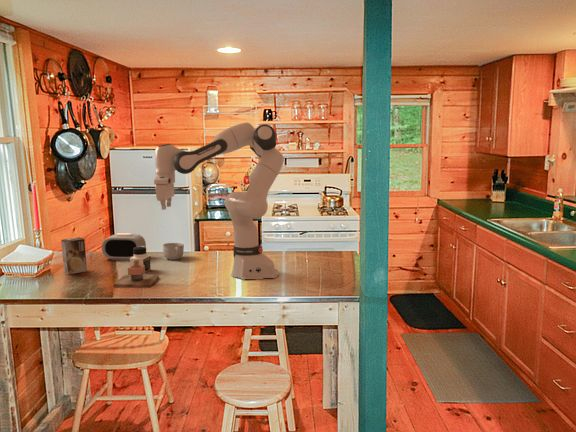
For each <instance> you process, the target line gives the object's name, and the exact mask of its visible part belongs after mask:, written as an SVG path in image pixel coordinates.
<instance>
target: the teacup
mask: <svg viewBox="0 0 576 432" xmlns="http://www.w3.org/2000/svg"><path fill="white" fill-rule="evenodd" d="M184 245H185V244H184V243H179V242H167V243H163V244H162V246H163V247H162V248H163V249H162V251H163V253H162V254H163V256H164V257H165V258H166V260H170V261H172V260H173V261H176V260H180V259H181V258H183V255H184Z"/></svg>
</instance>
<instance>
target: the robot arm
mask: <svg viewBox="0 0 576 432" xmlns="http://www.w3.org/2000/svg"><path fill="white" fill-rule="evenodd" d="M247 146H249V149H251V151H253V153H254V154H255V155H256V156H257V157H258V158H260V159H259V160H258V162H257V164H256V165H255V166H254V168H253V170H252V171H251V173H250V174H249V177H248V182H249V185H248V188H247V191H245V192H244V191H233V192H231V193H228V195H226V197H225V200H224V205H225V208H226V210H227V211H228V213H229V215H230V216H229V217H230V218H231V223H232V227H233V236H234V237H233V240H234V241H233V242H234V243H233V248H232V249H233V250H232V254H233V266H232V271H231V274H230V275H231V276H232V277H233V276H234V278H236V277H238V278H237V279H240V278H241V279H240V280H242V279H256V280H264V279H263V278H274V279H276V278H275V277H277V276H278V275H279V276H280V271H279V270H278V269H276V268H275V264H274V261H273V260H272V259H271V258H270V257H269V256H267V255H266V254H264V253H263V251H264V248H263V246H262V245H260V244H259V230H258V227H257V225H256V224H255V222H254V220H253V219H257V218H261V217H264V216H265V215H266V213H267V211H268V201H267V197H268V194H269V192H270V189H271V188H272V185H273V183H274V182H275V181H276V178H277V177H278V175H279V173H280V171H281V169H282V167H283V164H284V161H285V157H284V155H283V154H282V153H281V152H280V151H279V150H277V149H276V146H277V133H276V131H275V128H274V127H272V126H271V125H269V124H267V123H266V124H264V123H263V124H261V125H258V126H257V127H256V128H255V127H254V125H252V124H251V123H250V122H242V123H238V124H235V125H232V126H230V127H227V128H226V129H224V130H222V131H220V132H219V133H218V134H216V135H215V137H214V139H212V141H211V142H209V143H207V144H206V145H203V146H200V147H198V148H196V149H195V150H190V151H189V150H187V151H186V150H185V149H180V148H179V147H176V146H174V144H172V143H165V144H160V145H158V146H157V147H156V148H155V152H154V163H155V177H154V180H153V184H154V185H155V187H154V189H155V196H156V197H155V198H156V200H157V201H158V202H160V206H161V210H163V211H164V210H167V208H168V207H169V208H170V207H172V200H173V198H172V197H175V184H174V183H176V171H177V172H178V173H180V174H183V175H184V174H185V175H188V174H190V173H192V172H193V171H195V170H196V168H197V167H198V166H199V165H201V163H204V162H206V161H208V160H210V159H212V158H214V157H216V156H220V155H224V154H228V153H229V154H230V153H233V152H235V151H237V150H240V149H241V148H244V147H247ZM279 276H278V277H279ZM278 277H277V278H278Z"/></svg>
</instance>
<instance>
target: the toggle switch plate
mask: <svg viewBox="0 0 576 432" xmlns="http://www.w3.org/2000/svg"><path fill="white" fill-rule="evenodd" d="M133 267H134V268H139V260H133ZM143 274H144V273H143ZM143 274H142V275H128V274H127V275H126V274H125V275H123V276H121V278H119V279H118V280H117V281H116V282H114V283H113V287H114V288H151V287H152V286H154V284H155V283H156V282H157V281H158V280H159V278H160V275H155V274H154V275H153V274H152V275H149V274H148V275H143Z"/></svg>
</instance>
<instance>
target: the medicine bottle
mask: <svg viewBox="0 0 576 432" xmlns="http://www.w3.org/2000/svg"><path fill="white" fill-rule="evenodd" d="M133 255H134V256H133V257H131V258H130V260H129V265H130V266H131V265H133V260H139V265H145V272H144V273H143V274H145V273H146V272H148V271H150V270H151V269H152V268H151V267H152V265H151V255H147V246H146V247H144V246H137V247H134V248H133ZM130 266H129V267H130Z"/></svg>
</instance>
